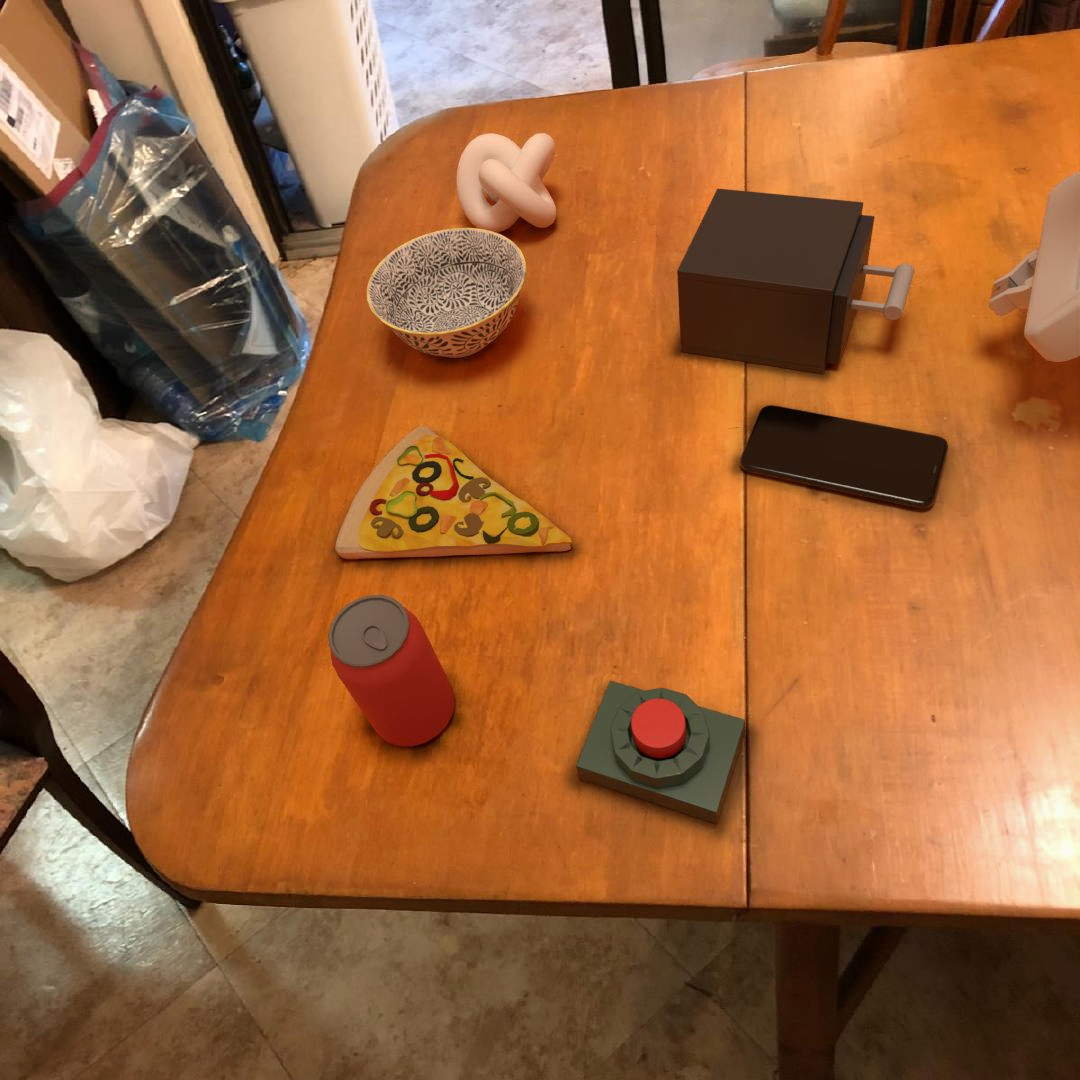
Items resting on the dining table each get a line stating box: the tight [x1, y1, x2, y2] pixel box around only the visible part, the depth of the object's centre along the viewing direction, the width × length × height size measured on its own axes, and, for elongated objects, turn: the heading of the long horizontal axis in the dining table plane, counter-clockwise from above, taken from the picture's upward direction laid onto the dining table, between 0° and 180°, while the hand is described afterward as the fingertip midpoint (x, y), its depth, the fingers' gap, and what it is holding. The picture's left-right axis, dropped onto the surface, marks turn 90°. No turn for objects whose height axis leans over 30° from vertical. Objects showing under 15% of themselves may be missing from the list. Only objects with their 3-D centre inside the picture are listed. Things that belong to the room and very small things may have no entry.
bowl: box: [366, 227, 528, 359], centre depth 94 cm, size 16×16×8 cm
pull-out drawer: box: [826, 214, 915, 365], centre depth 87 cm, size 17×11×8 cm
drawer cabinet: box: [676, 188, 864, 375], centre depth 88 cm, size 14×13×10 cm
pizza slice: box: [335, 425, 573, 560], centre depth 81 cm, size 16×21×3 cm
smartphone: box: [739, 404, 949, 509], centre depth 80 cm, size 8×1×16 cm
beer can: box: [327, 594, 456, 747], centre depth 67 cm, size 7×7×12 cm
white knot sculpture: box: [456, 132, 557, 233], centre depth 105 cm, size 11×12×9 cm
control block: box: [575, 680, 746, 825], centre depth 65 cm, size 10×7×4 cm
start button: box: [631, 699, 686, 758], centre depth 63 cm, size 4×4×2 cm
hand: (994, 300), depth 80 cm, fingers closed
